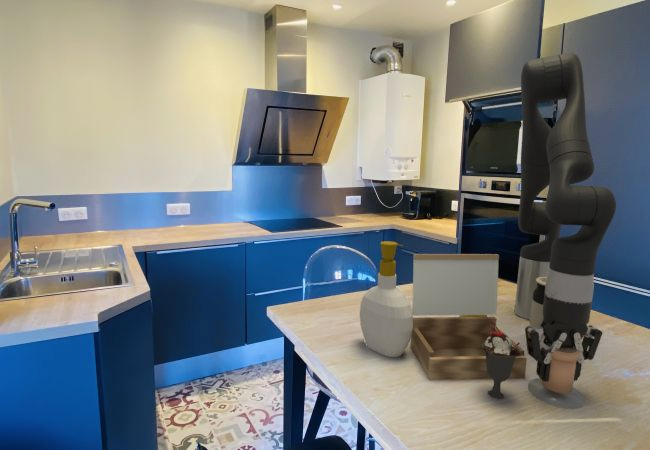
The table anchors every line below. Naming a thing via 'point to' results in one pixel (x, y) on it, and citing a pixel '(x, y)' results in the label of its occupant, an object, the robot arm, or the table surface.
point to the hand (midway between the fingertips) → (557, 378)
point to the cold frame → (456, 347)
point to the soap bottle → (386, 310)
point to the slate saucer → (556, 396)
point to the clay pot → (562, 370)
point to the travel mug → (538, 304)
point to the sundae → (499, 359)
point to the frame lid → (455, 284)
